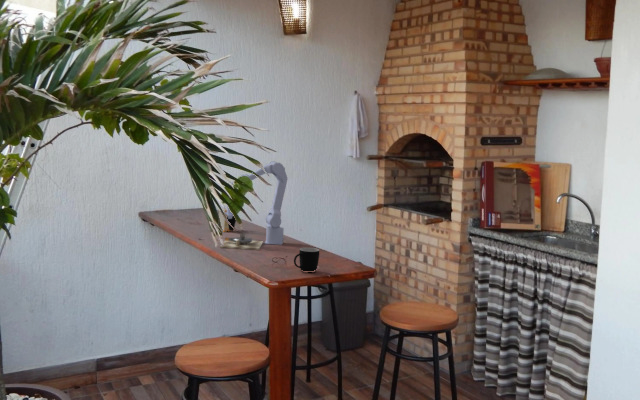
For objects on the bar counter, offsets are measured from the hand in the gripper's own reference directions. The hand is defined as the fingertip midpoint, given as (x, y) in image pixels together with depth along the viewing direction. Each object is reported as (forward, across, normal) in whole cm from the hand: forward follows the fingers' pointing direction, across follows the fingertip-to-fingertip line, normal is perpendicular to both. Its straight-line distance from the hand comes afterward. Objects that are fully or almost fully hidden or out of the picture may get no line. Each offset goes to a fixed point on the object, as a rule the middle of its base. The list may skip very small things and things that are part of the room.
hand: (231, 230), depth 364 cm
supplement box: (+7, -38, -9) cm, 40 cm away
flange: (+5, +3, +4) cm, 7 cm away
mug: (+7, +56, +42) cm, 71 cm away
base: (+7, +3, +6) cm, 10 cm away
